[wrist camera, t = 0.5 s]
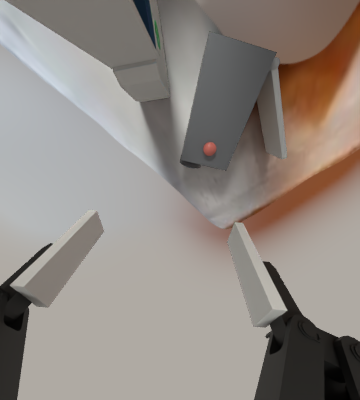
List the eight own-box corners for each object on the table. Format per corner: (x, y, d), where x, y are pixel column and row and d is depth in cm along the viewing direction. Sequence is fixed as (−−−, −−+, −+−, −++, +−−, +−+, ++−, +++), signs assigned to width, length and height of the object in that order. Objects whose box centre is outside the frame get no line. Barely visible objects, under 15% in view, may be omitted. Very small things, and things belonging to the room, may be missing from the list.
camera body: (202, 56, 26) (209, 26, 17) (251, 71, 26) (281, 49, 18) (180, 157, 36) (178, 169, 28) (216, 166, 37) (224, 180, 28)
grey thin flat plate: (250, 74, 27) (269, 61, 20) (259, 68, 26) (281, 53, 20) (264, 152, 34) (281, 160, 28) (271, 149, 34) (290, 156, 28)
